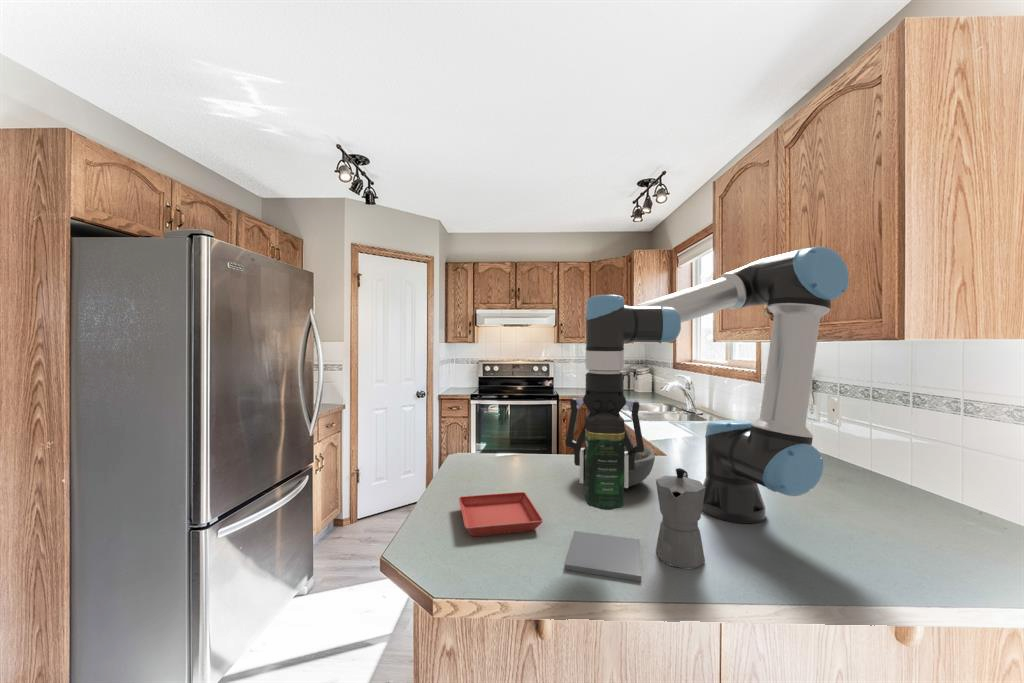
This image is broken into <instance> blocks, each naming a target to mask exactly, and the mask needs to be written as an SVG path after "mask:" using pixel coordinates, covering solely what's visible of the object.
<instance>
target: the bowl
mask: <svg viewBox="0 0 1024 683" xmlns="http://www.w3.org/2000/svg"><path fill="white" fill-rule="evenodd" d="M634 445H635V444H633V446H634ZM582 448H585V446H583V447H582ZM625 451H627V448H626V446H625ZM627 452H628V451H627ZM655 459H656V456H655V453H654V451H653V450H652V449H650V448H649V447H646V446H644V451H643V452H639V453H636V454H635V466H634V470H628V488H629V487H633V486H637V484H640V483H641V482H643V481H644V480H645V479H646V478H648V476H649V475H650V474H651V472H652V470H653V467H654V463H655Z"/></svg>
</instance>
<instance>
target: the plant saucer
mask: <svg viewBox="0 0 1024 683" xmlns="http://www.w3.org/2000/svg"><path fill="white" fill-rule="evenodd" d="M458 501H459V502H458V503H459V507H460V510H461V515H462V519H463V525H464V528H465V530H466V531H467V532H468V533H469V534H470V535H471V536H473V537H480V536H482V537H483V536H491V535H500V534H501V535H502V534H510V533H521V532H531V531H534V530H536V529H537V528H538V527H539V526H540V525H541V524H542V523H543V522H544V518H543V517H542V516H541V514H540V512H539V511H538V510H537V508H536V507H535V505H534V503H533V502H532V501H531V499H530V498H529V496H528V494H527V493H526V492H525V491H521V492H520V491H518V492H506V493H494V494H493V493H492V494H491V493H488V494H478V495H465V496H463V495H461V496H459V497H458Z"/></svg>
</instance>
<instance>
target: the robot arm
mask: <svg viewBox="0 0 1024 683" xmlns="http://www.w3.org/2000/svg"><path fill="white" fill-rule="evenodd" d="M849 276H850V275H849V270H848V267H847V264H846V262H845V261H844V259H843V258H842V257H841V255H840V254H839V253H838V252H837V251H835V250H834V249H832V248H829V247H827V246H826V247H825V246H813V247H808V248H807V247H804V248H800V249H798V250H793V251H790V252H785V253H782V254H777V255H776V254H775V255H773V256H767V257H764V258H760V259H758V260H756V261H753V262H750V263H748V264H747V265H743V266H741V267H739V268H736V269H734V270H731V271H728V272H725V273H723V274H722V273H721V275H720V276H719V277H718V278H717V279H716V280H712V281H708V282H706V283H704V284H703V283H702V284H699V285H695V286H693V287H689V288H686V289H683V290H680V291H677V292H674V293H670V294H666V295H664V296H661V297H658V298H654V299H650V300H647V301H643V302H641V303H638V304H635V305H632V306H630V305H626V303H625V299H624V297H623V296H622V295H618V294H617V295H616V294H597V295H591V296H590V297H589V298H588V299H587V300H586V305H585V306H586V307H585V318H584V319H585V343H586V344H585V345H586V346H585V369H586V370H587V371H588V372H586V374H585V394H584V396H583V397H578V398H577V397H573V398H572V399H570V402H569V404H570V410H571V413H570V417H569V423H568V428H567V433H566V439H565V446H566V447H567V448H572V449H573V451H574V457H573V458H574V459H573V460H574V465H575V466H578V467H579V484H584V468H585V448H583V447H582V446H583V443H584V442H585V429H586V428H585V424H584V425H583V427H582V429H581V432H580V433H579V435H578V438H577V440H576V441H575V440H574V436H575V432H576V426H577V421H578V416H579V410H580V409H581V408H582V406H583V404H584V406H586V408H587V410H588V411H589V412H590V414H589V416H588V417H591V416H593V415H596V414H597V413H600V412H609V413H611V414H612V415H614V416H617V417H619V418H620V417H622V415H621V414H620V412H621V411H622V410H623V408H624V407H625V406H627V410H628V411H629V412H630V413H631V419H632V425H633V431H634V435H635V436H634V437H635V442H636V444H633V441H632V440H631V437H630V435H629V433H628V430H627V429H626V427H625V446H626V448H627V451H628V452H627V451H625V460H624V489H629V487H628V470H634V466H635V454H636V453H639V452H643V451H644V447H645V446H644V445H645V444H644V440H643V434H642V430H641V424H640V418H639V410H640V402H639V400H630V399H626V397H625V394H624V393H625V392H624V387H625V386H624V380H625V379H624V378H625V377H624V376H625V375H624V374H623V372H622V371H624V370H625V369H624V365H625V364H624V363H625V359H624V358H625V356H624V355H625V353H624V350H625V349H624V348H625V343H650V344H651V343H655V344H657V343H658V344H662V343H672V342H674V341H676V339H677V338H678V337H679V335H680V333H681V330H682V324H683V323H685V322H688V321H691V320H695V319H697V318H700V317H704V316H707V315H710V314H713V313H716V312H718V311H722V310H725V309H729V310H738V309H741V308H744V307H745V308H746V307H753V306H765V305H767V306H766V308H767V310H769V311H770V312H771V314H772V315H773V319H772V327H771V336H770V340H769V341H770V342H769V347H768V348H769V349H768V356H767V364H766V369H765V370H766V371H765V377H764V386H763V391H762V392H763V393H762V398H761V399H762V400H761V406H760V407H761V408H760V415H759V417H758V419H756V420H755V421H751V420H739V419H738V420H735V419H733V420H732V419H731V420H729V419H728V420H727V419H726V420H712V421H709V422H708V423H707V424H706V427H705V428H706V430H705V436H704V437H705V478H704V480H703V483H702V484H703V485H704V486H705V487H706V489H705V495H704V500H703V506H702V512H703V513H705V514H707V515H709V516H710V517H711V516H712V517H714V518H716V519H719V520H723V521H727V522H731V523H739V524H756V523H760V522H762V521H764V520H765V519H766V505H765V503H764V500H763V497H762V494H761V491H760V489H759V485H760V486H762V487H765V488H767V489H768V490H769V491H771V492H775V493H779V494H782V495H784V496H787V497H799V496H802V495H805V494H807V493H809V492H810V491H811V490H813V489H814V488H815V487H816V486H817V484H819V482H820V480H821V478H822V476H823V473H824V468H825V467H824V465H825V464H824V459H823V457H822V454H821V453H820V451H819V450H818V449H817V448H816V447H815V446H813V439H814V435H813V433H811V432H810V430H809V429H808V428H807V426H806V425H807V418H808V411H809V410H808V409H809V403H810V395H811V387H812V381H813V373H814V368H815V367H814V366H815V358H816V351H817V344H818V338H819V329H820V323H821V322H820V321H821V319H822V318H823V316H825V315H826V314H829V313H830V311H831V307H832V306H831V305H832V300H836V299H838V298H839V297H841V296H842V295H843V293H845V292H846V291H847V288H848V285H849V281H850V279H849ZM633 445H634V446H633Z"/></svg>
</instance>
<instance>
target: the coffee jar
mask: <svg viewBox="0 0 1024 683" xmlns="http://www.w3.org/2000/svg"><path fill="white" fill-rule="evenodd" d="M589 414H590V411H589V412H588V413H586V415H585V417H584V425H585V428H586V429H585V439H584V447H585V468H584V483H583V484H584V485H583V487H584V488H583V494H584V495H583V496H584V501H585V503H586V504H587V505H588V506H589V507H592V508H596V509H598V510H604V511H612V510H616V509H621V508H623V507H624V505H625V488H624V460H625V428H626V426H625V419H624V418H623V416H621V417H620V418H619V417H617V416H614V415H612V414H611V413H609V412H600V413H597V414H596V415H593V416H591V417H588V416H589Z"/></svg>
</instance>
